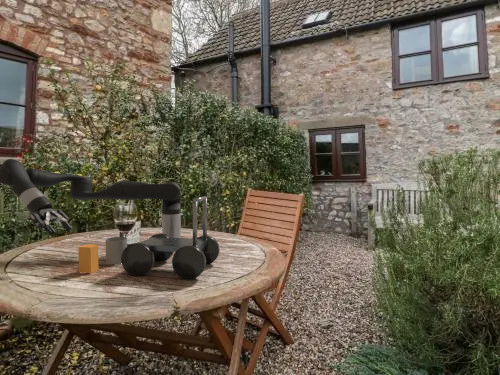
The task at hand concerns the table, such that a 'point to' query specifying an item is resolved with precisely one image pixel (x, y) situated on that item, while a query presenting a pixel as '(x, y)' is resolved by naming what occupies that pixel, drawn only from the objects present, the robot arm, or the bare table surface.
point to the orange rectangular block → (88, 258)
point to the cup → (115, 249)
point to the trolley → (186, 251)
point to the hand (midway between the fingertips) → (62, 232)
